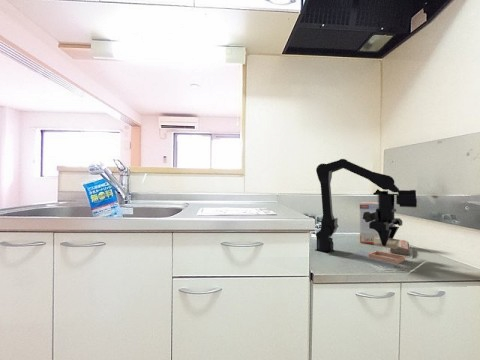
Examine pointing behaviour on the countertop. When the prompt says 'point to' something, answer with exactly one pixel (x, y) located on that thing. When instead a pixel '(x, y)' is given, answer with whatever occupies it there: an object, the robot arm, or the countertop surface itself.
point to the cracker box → (367, 223)
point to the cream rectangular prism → (390, 243)
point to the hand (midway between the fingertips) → (386, 244)
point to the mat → (370, 259)
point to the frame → (398, 257)
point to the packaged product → (402, 249)
